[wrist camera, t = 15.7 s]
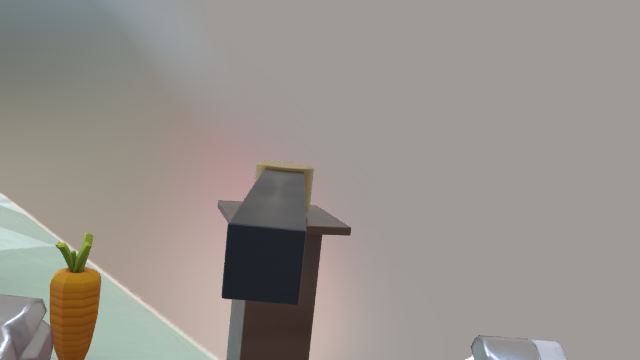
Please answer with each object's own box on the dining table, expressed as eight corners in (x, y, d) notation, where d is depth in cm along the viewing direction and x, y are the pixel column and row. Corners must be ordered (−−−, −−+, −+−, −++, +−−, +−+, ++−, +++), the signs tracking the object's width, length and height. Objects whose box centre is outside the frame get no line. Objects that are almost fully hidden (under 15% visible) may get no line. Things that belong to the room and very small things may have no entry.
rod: (254, 201, 37) (258, 159, 36) (308, 206, 37) (313, 164, 36) (200, 303, 17) (208, 214, 17) (317, 314, 17) (326, 226, 17)
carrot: (51, 391, 54) (59, 242, 53) (39, 369, 58) (46, 230, 56) (103, 379, 57) (112, 239, 56) (88, 360, 61) (96, 228, 60)
